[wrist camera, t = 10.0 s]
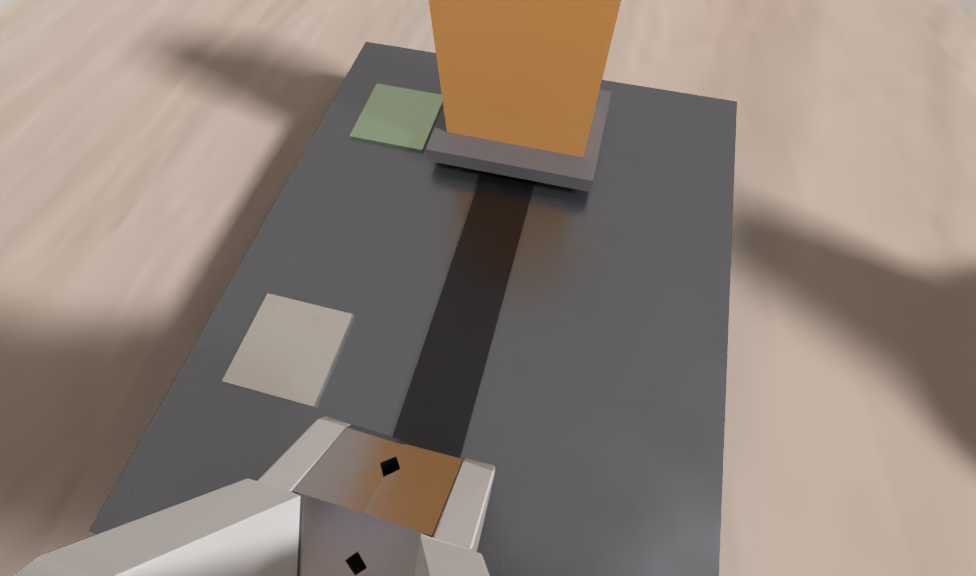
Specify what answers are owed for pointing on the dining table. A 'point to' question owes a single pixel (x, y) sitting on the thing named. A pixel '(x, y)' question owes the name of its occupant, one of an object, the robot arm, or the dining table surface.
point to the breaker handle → (522, 87)
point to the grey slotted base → (482, 328)
